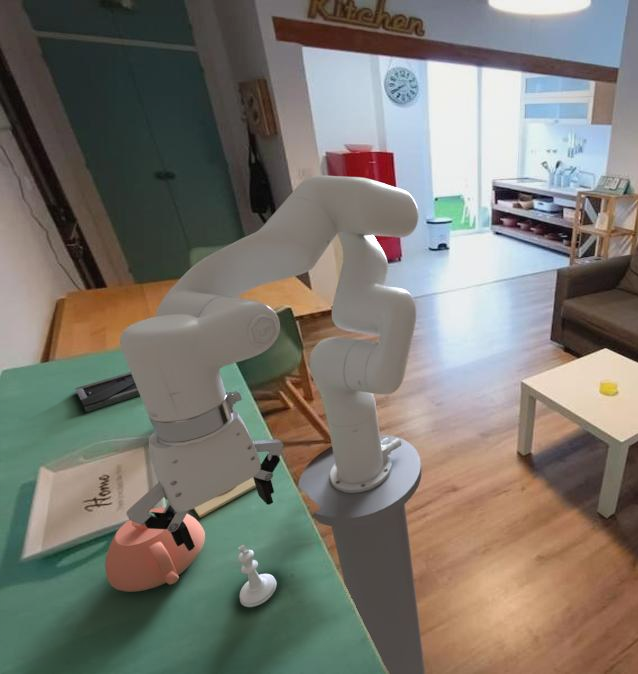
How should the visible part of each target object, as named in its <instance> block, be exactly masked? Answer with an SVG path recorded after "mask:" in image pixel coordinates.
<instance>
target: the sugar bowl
mask: <svg viewBox="0 0 638 674" xmlns="http://www.w3.org/2000/svg"><path fill="white" fill-rule="evenodd" d="M165 508H166V507H156V508H152V509H151V510H150V511H149V512H158V513H163V512H164V510H165ZM183 522H184V523H185V524H186V526H187V528H188V531H189V533H190V536H191V538H192V540H193V543H194V545H195V547H194V549H192V550H190V551H188V549H187V548H186V546H185V545H184V543H183V544H182V545H180V546H177V545H176V543H175V541H174V539H173V537H172V534H171V532H169V531H168V530H167V529H149V528H147V527H146V526H144V525H141V524H138V523H135V522H133V521H131V520H129V519H128V520H127V521H126V522H125V523H123V524H122V525H121V526H120V528H118V529H117V530H116V532H115V534H114V536H113V538H112V539H111V542H110V543H109V547H108V549H107V553H106V556H105V563H104V569H105V575H106V579H107V581H108V583H109V585H110V586H111V587H113V588H114V589H116V590H118V591H121V592H130V593H131V592H143V591H148V590H151V589H154V588H157V587H160V586H163V585H164V584H168V585H173V584H175V583H177V582H178V580H179V578H180V576H179V575H181V574H182V573H184V571H186V570H187V569H188V568H189V567H190V566H191V565H192V564H193V562H194V561H195V560H196V559H197V557H198V556H199V554H200V553H201V551H202V549H203V547H204V545H205V541H206V532H205V530H204V528H203V526H202V525H201V523H200V522H199V521H198V520H197V519H196V518H195V517H193V516H192V515H190V514H189V513H187V514H186V516H185V518H184V520H183Z"/></svg>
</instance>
